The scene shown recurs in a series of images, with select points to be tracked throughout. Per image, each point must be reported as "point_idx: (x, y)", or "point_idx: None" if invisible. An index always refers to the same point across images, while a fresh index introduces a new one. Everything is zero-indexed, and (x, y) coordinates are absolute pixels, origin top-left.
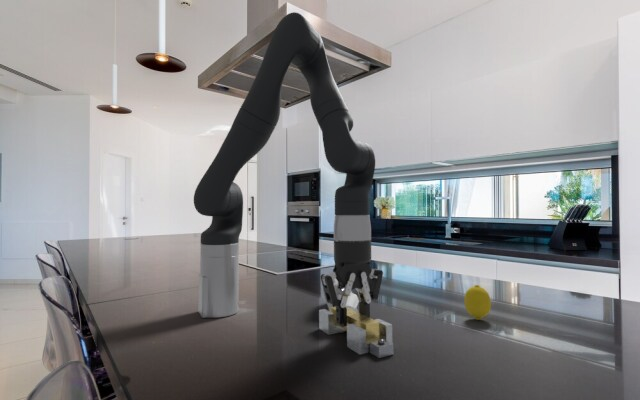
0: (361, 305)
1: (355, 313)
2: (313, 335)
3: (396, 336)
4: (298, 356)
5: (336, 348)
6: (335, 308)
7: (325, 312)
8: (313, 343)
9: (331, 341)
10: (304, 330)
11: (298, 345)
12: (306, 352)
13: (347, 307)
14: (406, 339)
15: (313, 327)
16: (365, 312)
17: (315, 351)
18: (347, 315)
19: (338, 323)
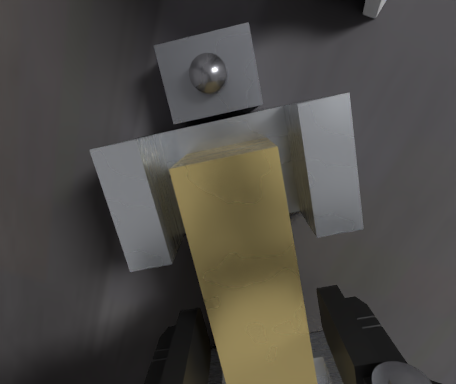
0: (349, 375)
1: (285, 346)
2: (94, 212)
3: (428, 320)
4: (20, 369)
5: None
6: (197, 212)
7: (122, 223)
8: (82, 290)
9: (155, 292)
10: (60, 137)
11: (23, 291)
12: (48, 350)
13: (314, 155)
14: (443, 354)
15: (110, 106)
16: (342, 379)
17: (80, 352)
18: (223, 364)
19: (182, 311)
